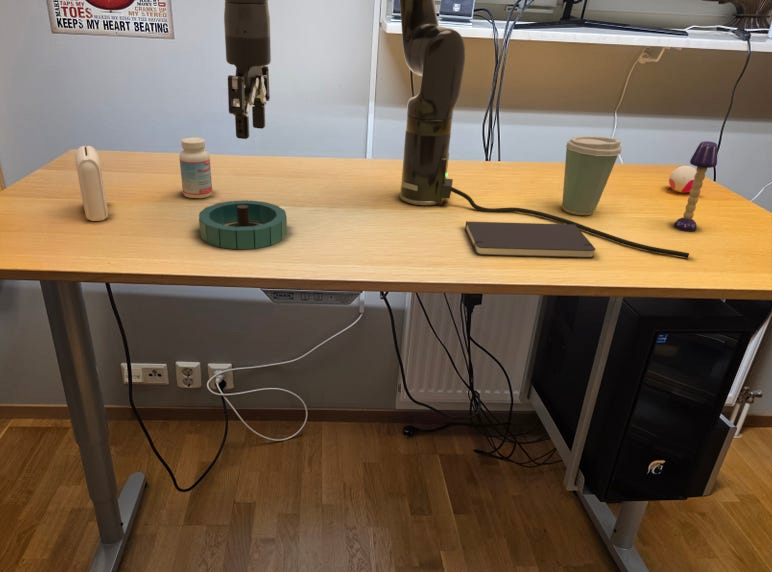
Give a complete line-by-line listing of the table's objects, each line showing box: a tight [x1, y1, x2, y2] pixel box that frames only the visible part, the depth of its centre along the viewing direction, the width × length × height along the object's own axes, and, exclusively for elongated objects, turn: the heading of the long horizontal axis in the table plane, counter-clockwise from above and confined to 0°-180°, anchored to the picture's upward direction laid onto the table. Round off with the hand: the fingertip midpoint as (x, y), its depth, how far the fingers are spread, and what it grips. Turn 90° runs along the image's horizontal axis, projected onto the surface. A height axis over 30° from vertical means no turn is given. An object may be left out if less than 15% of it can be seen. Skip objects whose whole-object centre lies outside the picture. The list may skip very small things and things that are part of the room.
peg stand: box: [226, 205, 260, 227], centre depth 119 cm, size 8×8×5 cm
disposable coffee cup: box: [561, 135, 622, 216], centre depth 134 cm, size 11×11×15 cm
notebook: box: [464, 221, 596, 259], centre depth 121 cm, size 13×2×21 cm
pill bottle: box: [178, 136, 213, 199], centre depth 135 cm, size 6×6×11 cm
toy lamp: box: [673, 140, 718, 232], centre depth 127 cm, size 5×5×17 cm
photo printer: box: [74, 145, 109, 222], centre depth 123 cm, size 10×4×12 cm, turn 20°
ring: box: [198, 199, 288, 250], centre depth 120 cm, size 16×16×4 cm
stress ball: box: [668, 165, 697, 194], centre depth 151 cm, size 8×8×7 cm
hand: (251, 132), depth 118 cm, fingers open, 8 cm apart
